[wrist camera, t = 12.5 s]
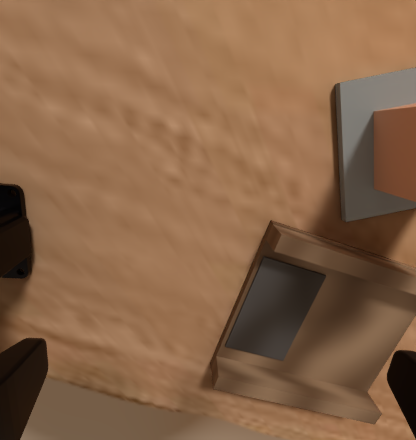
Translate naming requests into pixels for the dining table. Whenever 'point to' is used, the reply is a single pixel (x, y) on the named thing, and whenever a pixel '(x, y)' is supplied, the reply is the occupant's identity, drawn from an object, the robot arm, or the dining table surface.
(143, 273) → the dining table surface
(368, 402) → the walnut channel
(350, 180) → the slate mat
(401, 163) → the terracotta block
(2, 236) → the robot arm
